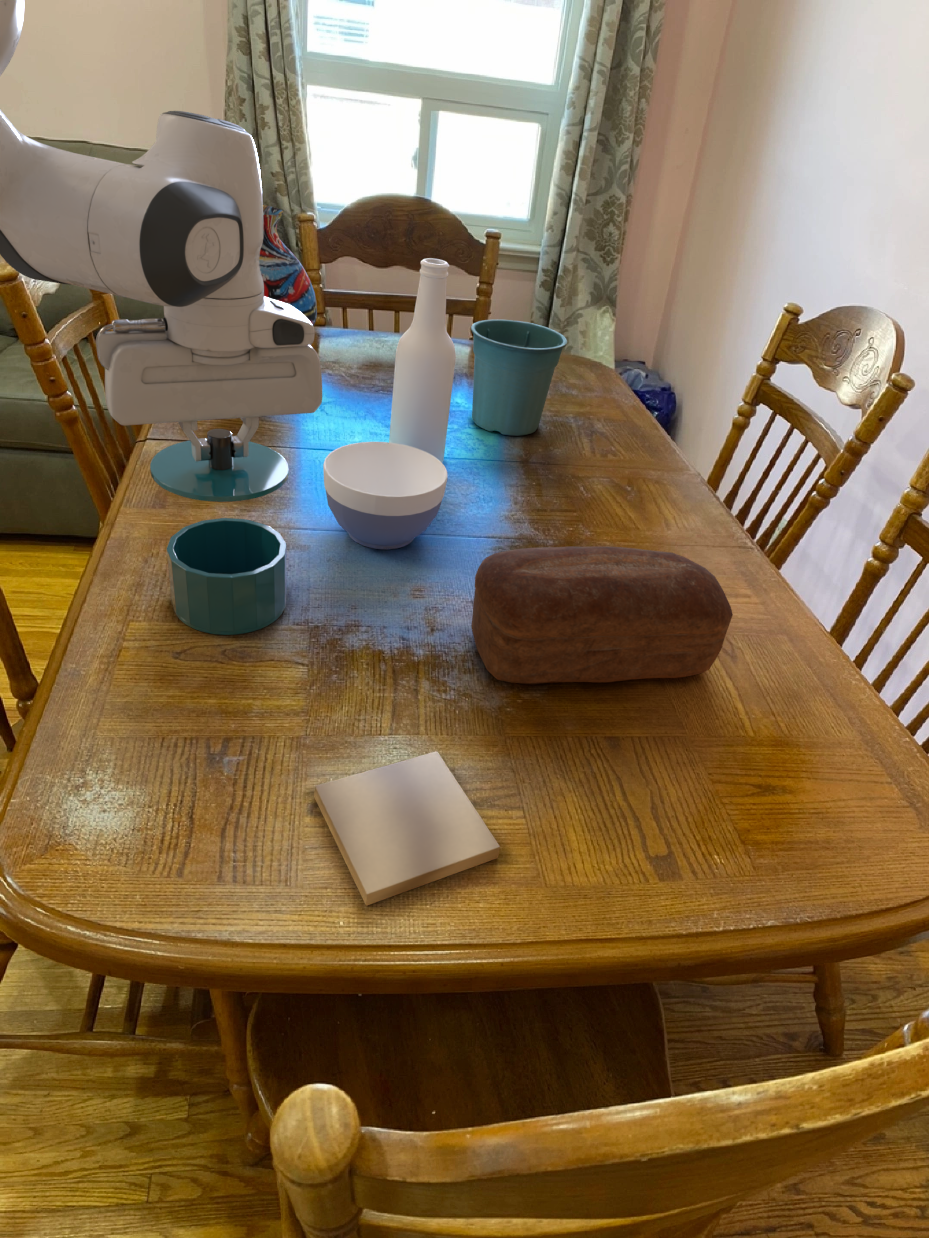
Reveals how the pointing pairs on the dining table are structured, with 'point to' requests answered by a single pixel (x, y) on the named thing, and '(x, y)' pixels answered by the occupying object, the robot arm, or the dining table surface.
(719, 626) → the bread
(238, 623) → the pot
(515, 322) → the flower pot
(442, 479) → the bowl
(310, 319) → the vase
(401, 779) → the board
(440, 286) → the alcohol
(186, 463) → the pot lid
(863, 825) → the dining table surface
